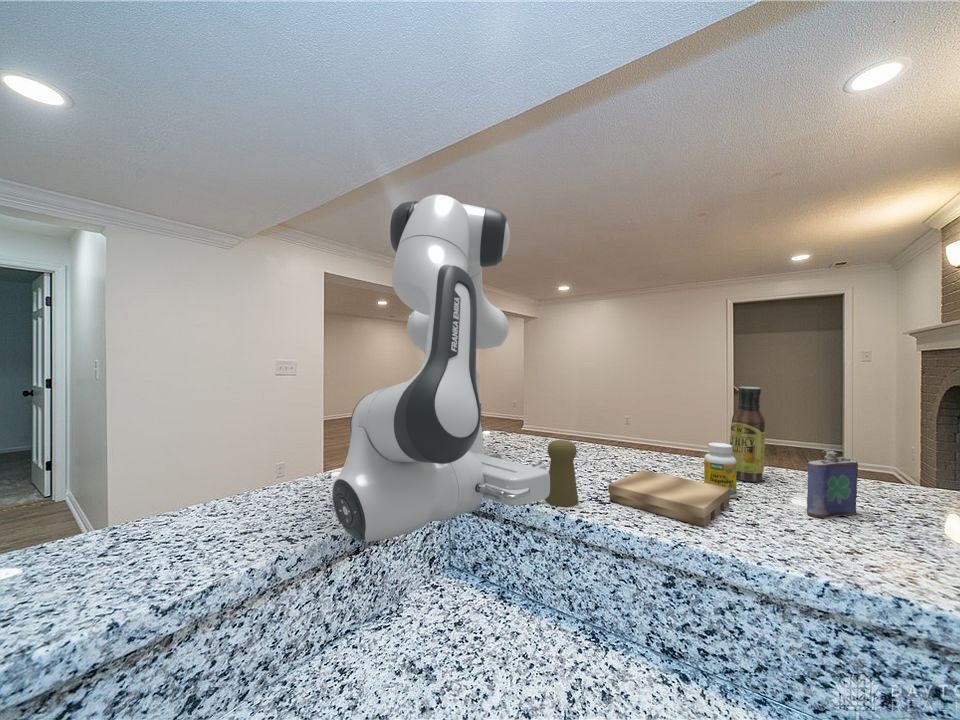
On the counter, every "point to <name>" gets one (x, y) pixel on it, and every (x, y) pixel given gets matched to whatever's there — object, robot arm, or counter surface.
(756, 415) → the sauce bottle
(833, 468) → the flask
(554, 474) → the cork
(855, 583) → the counter surface
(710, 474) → the supplement bottle
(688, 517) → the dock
